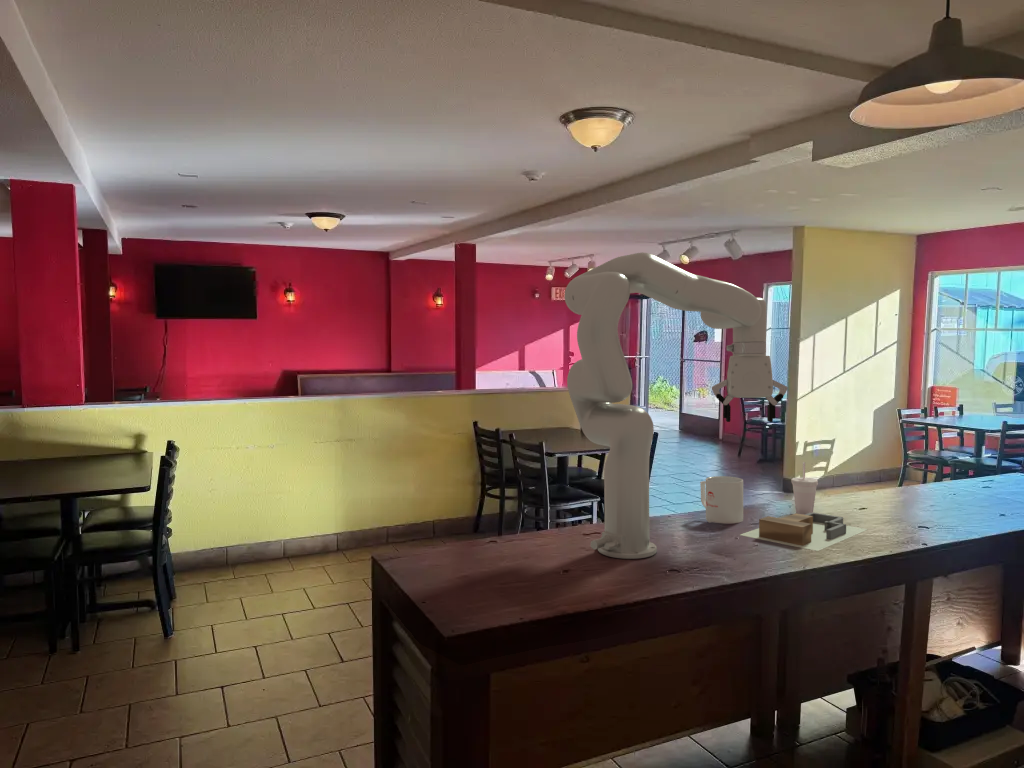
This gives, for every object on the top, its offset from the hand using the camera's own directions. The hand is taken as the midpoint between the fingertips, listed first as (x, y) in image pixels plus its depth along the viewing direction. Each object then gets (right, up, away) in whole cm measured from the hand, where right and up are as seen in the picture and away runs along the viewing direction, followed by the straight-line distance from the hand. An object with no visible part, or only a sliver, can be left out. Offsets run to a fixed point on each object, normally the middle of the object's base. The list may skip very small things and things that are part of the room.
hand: (748, 421), depth 169 cm
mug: (-5, -26, +7) cm, 27 cm away
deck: (+10, -26, -8) cm, 29 cm away
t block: (+6, -25, -11) cm, 28 cm away
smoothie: (+18, -25, +11) cm, 33 cm away
